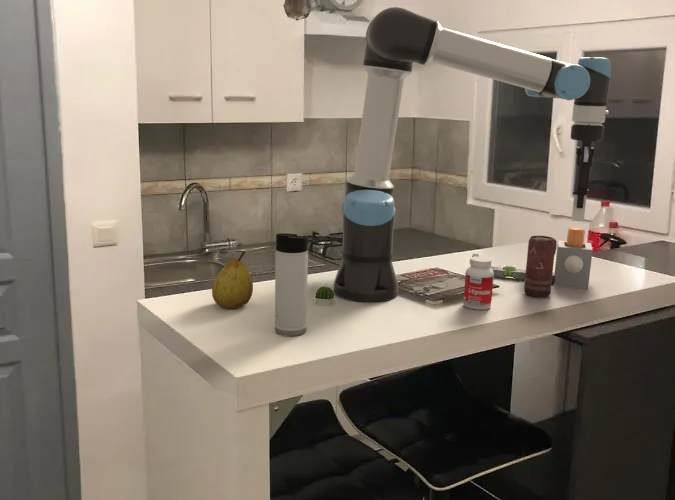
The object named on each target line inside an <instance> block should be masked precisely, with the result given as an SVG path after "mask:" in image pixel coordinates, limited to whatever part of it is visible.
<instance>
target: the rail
mask: <svg viewBox="0 0 675 500" xmlns="http://www.w3.org/2000/svg"><path fill="white" fill-rule="evenodd" d="M471 257H480V256H479V253H472V255H471ZM490 268H491V269H492V270H493V272H494V278H499V279H506V278H505V277H506V276H504V275H503V273H504V272H506V271H505V270H503V268H504V267H499V266H491V267H490ZM514 269H515V270H516V271H510V272H512V273H513V274H514V276H513V278H515V279H514V280H517V281H525V275H526V269H521V268H520V269H519V268H514ZM554 281H555V272H553V274H552V283H551V284H554Z"/></svg>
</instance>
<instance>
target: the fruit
mask: <svg viewBox="0 0 675 500" xmlns="http://www.w3.org/2000/svg"><path fill="white" fill-rule="evenodd" d="M245 254H246V252H245V251H242V252H241V255H240V256H239V257H238V259H237V258H232V259H231V260H229V261H228V262H227V263H226V264H225V265H224V266H223V268H222V269H221V271H220V272H218V274H217V275H216V277H215V278H214V280H213V283H212V287H211V295H212V300H214V302H215V304H216V305H217V306H218V307H220V308H223V309H226V310H233V309H235V310H236V309H238V308H241V307H243V306H245V305H247V304H248V303H249V301H250V300H251V298H252V295H253V292H254V284H253V283H254V282H253V279H252V276H251V274H250V272H249V269H248V268H247V266H246V264H245V263H244V262H242V261H241V259H242V258H243V256H244V255H245Z"/></svg>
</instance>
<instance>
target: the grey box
mask: <svg viewBox="0 0 675 500" xmlns="http://www.w3.org/2000/svg"><path fill="white" fill-rule="evenodd" d="M566 244H567V240H559V239H558V240H557V246H556V253H555V257H556V258H555V264H554V265H555V266H554V273H555V281H554V283H553V284H554V287H562V288H563V287H564V288H573V289H580V288H581V290H589V283H590V276H591V274H590V273H591V267H592V260H593V259H592V257H593V247H592V243H591V242H584V243H583V248H580V247H568V246H566Z"/></svg>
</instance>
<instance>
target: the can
mask: <svg viewBox="0 0 675 500" xmlns="http://www.w3.org/2000/svg"><path fill="white" fill-rule="evenodd" d="M557 245H558V240H557V239H556V238H554V237H551V236H546V235H531V236H530V238H529V240H528V245H527V254H526V255H527V256H526V266H525V270H526V275H525V280H524V285H523V286H524V288H523V293H524V294H525V296H527V297H530V298H535V299H545V298H546V297H547V298H548V297H550V295H551V290H552V284H553V283H552V274H553V273H554V272H553V271H554V265H555V264H554V263H555V255H556V254H557Z"/></svg>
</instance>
